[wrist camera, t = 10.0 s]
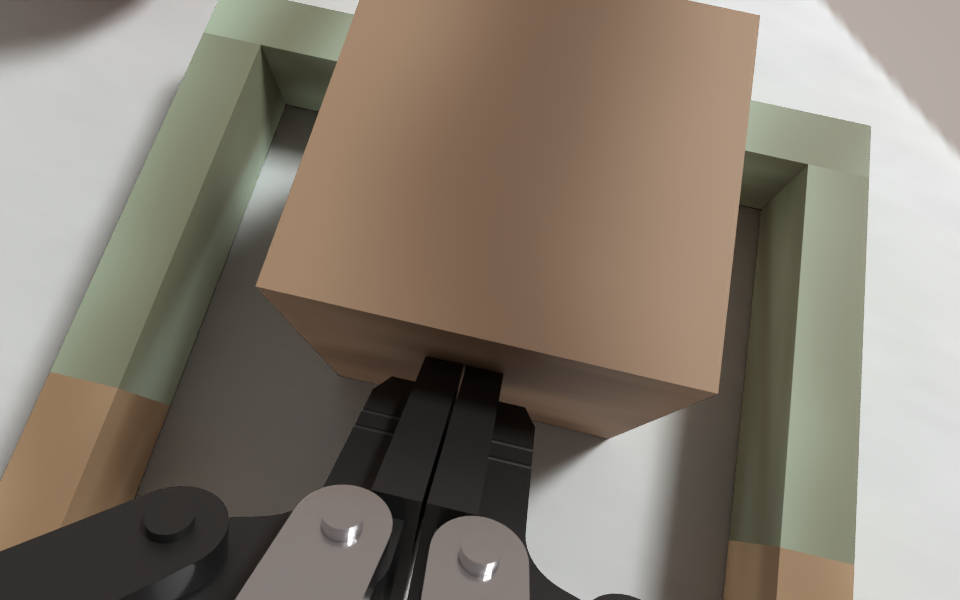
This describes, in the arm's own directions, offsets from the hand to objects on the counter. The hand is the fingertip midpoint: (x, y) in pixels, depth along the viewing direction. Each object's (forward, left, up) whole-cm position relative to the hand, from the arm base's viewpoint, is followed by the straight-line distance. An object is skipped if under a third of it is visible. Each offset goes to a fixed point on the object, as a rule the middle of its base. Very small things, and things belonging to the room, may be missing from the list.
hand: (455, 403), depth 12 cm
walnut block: (0, +4, -4) cm, 6 cm away
